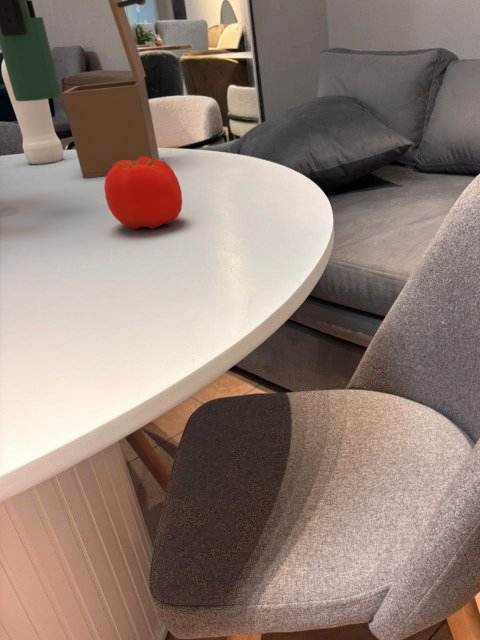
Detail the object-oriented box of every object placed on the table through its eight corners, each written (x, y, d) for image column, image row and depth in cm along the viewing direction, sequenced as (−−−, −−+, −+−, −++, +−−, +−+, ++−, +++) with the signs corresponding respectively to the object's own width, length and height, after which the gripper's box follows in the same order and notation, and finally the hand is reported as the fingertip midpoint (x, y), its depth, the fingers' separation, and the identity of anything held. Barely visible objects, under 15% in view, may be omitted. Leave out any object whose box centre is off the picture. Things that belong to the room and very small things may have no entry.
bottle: (64, 155, 146) (24, 1, 131) (65, 161, 139) (23, 0, 124) (28, 160, 144) (-17, 5, 129) (26, 166, 138) (-21, 3, 122)
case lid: (104, -11, 107) (135, -19, 107) (114, -8, 119) (142, -15, 118) (135, 82, 114) (164, 75, 114) (142, 77, 126) (168, 70, 126)
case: (83, 178, 122) (61, 93, 114) (94, 164, 133) (75, 86, 125) (154, 170, 122) (138, 85, 115) (159, 157, 134) (144, 79, 126)
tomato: (168, 237, 83) (154, 168, 79) (96, 236, 86) (79, 169, 82) (201, 214, 92) (191, 150, 87) (135, 214, 95) (121, 152, 90)
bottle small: (10, 102, 91) (-21, -7, 84) (21, 97, 96) (-7, -6, 89) (56, 98, 91) (29, -11, 84) (64, 93, 97) (40, -10, 90)
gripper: (-30, -116, 87) (10, 35, 97) (-78, -142, 72) (-25, 39, 82) (26, -120, 88) (61, 30, 97) (-11, -146, 73) (35, 34, 82)
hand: (21, 33), depth 89 cm, fingers closed on bottle small, 6 cm apart
